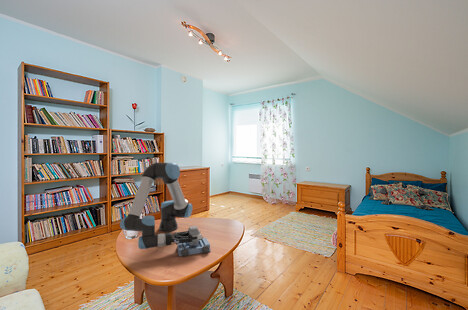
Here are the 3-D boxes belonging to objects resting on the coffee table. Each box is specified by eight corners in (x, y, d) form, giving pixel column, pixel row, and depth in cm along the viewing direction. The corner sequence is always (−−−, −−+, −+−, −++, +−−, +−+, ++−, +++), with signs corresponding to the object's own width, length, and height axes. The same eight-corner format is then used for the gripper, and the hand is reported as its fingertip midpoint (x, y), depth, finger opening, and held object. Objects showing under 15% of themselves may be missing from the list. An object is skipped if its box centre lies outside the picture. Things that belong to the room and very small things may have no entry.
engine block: (188, 244, 142) (188, 226, 142) (197, 242, 144) (197, 225, 144) (189, 248, 137) (189, 229, 136) (198, 246, 139) (198, 228, 138)
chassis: (177, 246, 145) (177, 240, 145) (205, 242, 152) (205, 236, 151) (179, 257, 130) (179, 250, 129) (211, 252, 136) (211, 245, 136)
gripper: (164, 239, 143) (198, 234, 151) (165, 252, 125) (204, 246, 133) (164, 228, 143) (198, 224, 151) (165, 239, 125) (203, 234, 133)
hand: (201, 234), depth 142 cm, fingers closed on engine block, 6 cm apart
